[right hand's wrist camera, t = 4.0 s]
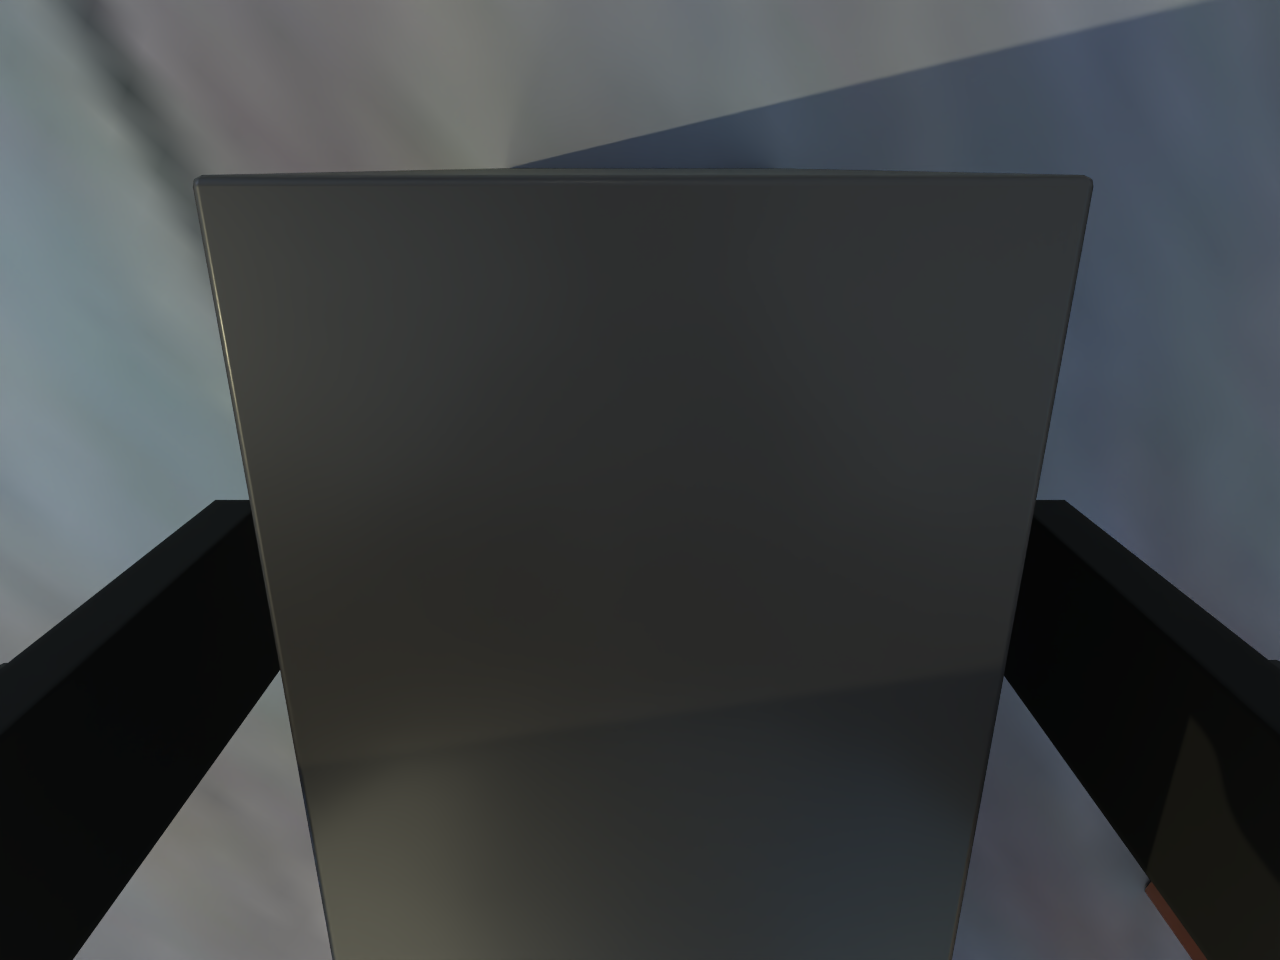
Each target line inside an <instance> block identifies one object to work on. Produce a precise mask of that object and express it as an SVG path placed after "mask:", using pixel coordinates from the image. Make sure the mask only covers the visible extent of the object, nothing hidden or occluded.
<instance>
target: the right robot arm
mask: <svg viewBox="0 0 1280 960" xmlns="http://www.w3.org/2000/svg"><path fill="white" fill-rule="evenodd" d="M279 671H280V666H279V660H278V654H277V649H276V643H275V638H274V632H273V627H272V621H271V616H270V610H269V605H268V599H267V594H266V588H265V582H264V577H263V571H262V566H261V560H260V555H259V549H258V544H257V538H256V533H255V527H254V522H253V516H252V511H251V505H250V500H215V501H214V502H212V503H211V504H210V505H208V506H207V507H206V508H205V509H203V510H202V511H201V512H200V513H198V514H197V515H196V516H194V517H193V518H192V519H191V520H189V521H188V522H187V523H186V524H184V525H183V526H182V527H180V528H179V529H178V530H177V531H175V532H174V533H173V534H172V535H170V536H169V537H168V538H166V539H165V540H164V541H163V542H161V543H160V544H159V545H158V546H156V547H155V548H154V549H152V550H151V551H150V552H149V553H147V554H146V555H145V556H144V557H142V558H141V559H140V560H138V561H137V562H136V563H135V564H133V565H132V566H131V567H130V568H128V569H127V570H126V571H124V572H123V573H122V574H121V575H119V576H118V577H117V578H116V579H114V580H113V581H112V582H110V583H109V584H108V585H107V586H105V587H104V588H103V589H102V590H100V591H99V592H98V593H96V594H95V595H94V596H93V597H91V598H90V599H89V600H88V601H86V602H85V603H84V604H82V605H81V606H80V607H79V608H77V609H76V610H75V611H74V612H72V613H71V614H70V615H68V616H67V617H66V618H65V619H63V620H62V621H61V622H60V623H58V624H57V625H56V626H54V627H53V628H52V629H51V630H49V631H48V632H47V633H46V634H44V635H43V636H42V637H40V638H39V639H38V640H37V641H35V642H34V643H33V644H32V645H30V646H29V647H28V648H26V649H25V650H24V651H23V652H21V653H20V654H19V655H18V656H16V657H15V658H14V659H12V660H11V661H10V662H9V663H3V664H1V665H0V960H73V959H74V957H75V956H76V954H77V953H78V952H79V950H80V949H81V947H82V946H83V945H84V943H85V942H86V940H87V939H88V938H89V936H90V935H91V933H92V932H93V931H94V929H95V928H96V926H97V925H98V924H99V922H100V921H101V919H102V918H103V917H104V915H105V914H106V912H107V911H108V910H109V908H110V907H111V905H112V904H113V903H114V901H115V900H116V898H117V897H118V896H119V894H120V893H121V891H122V890H123V889H124V887H125V886H126V884H127V883H128V882H129V880H130V879H131V877H132V876H133V875H134V873H135V872H136V870H137V869H138V868H139V866H140V865H141V864H142V862H143V861H144V859H145V858H146V857H147V855H148V854H149V852H150V851H151V850H152V848H153V847H154V845H155V844H156V843H157V841H158V840H159V838H160V837H161V836H162V834H163V833H164V831H165V830H166V829H167V827H168V826H169V824H170V823H171V822H172V820H173V819H174V817H175V816H176V815H177V813H178V812H179V810H180V809H181V808H182V806H183V805H184V803H185V802H186V801H187V799H188V798H189V796H190V795H191V794H192V792H193V791H194V789H195V788H196V787H197V785H198V784H199V782H200V781H201V780H202V778H203V777H204V775H205V774H206V773H207V771H208V770H209V768H210V767H211V766H212V764H213V763H214V761H215V760H216V759H217V757H218V756H219V754H220V753H221V752H222V750H223V749H224V747H225V746H226V745H227V743H228V742H229V740H230V739H231V738H232V736H233V735H234V733H235V732H236V731H237V729H238V728H239V726H240V725H241V724H242V722H243V721H244V719H245V718H246V717H247V715H248V714H249V713H250V711H251V710H252V708H253V707H254V706H255V704H256V703H257V701H258V700H259V699H260V697H261V696H262V694H263V693H264V692H265V690H266V689H267V687H268V686H269V685H270V683H271V682H272V680H273V679H274V678H275V676H276V675H277V673H278V672H279ZM1004 676H1005V678H1006V679H1007V680H1008V682H1009V683H1010V685H1011V686H1012V687H1013V689H1014V690H1015V692H1016V693H1017V694H1018V696H1019V697H1020V699H1021V700H1022V701H1023V703H1024V704H1025V705H1026V707H1027V708H1028V710H1029V711H1030V712H1031V714H1032V715H1033V717H1034V718H1035V719H1036V721H1037V722H1038V724H1039V725H1040V726H1041V728H1042V729H1043V731H1044V732H1045V733H1046V735H1047V736H1048V738H1049V739H1050V740H1051V742H1052V743H1053V745H1054V746H1055V747H1056V749H1057V750H1058V752H1059V753H1060V754H1061V756H1062V757H1063V759H1064V760H1065V761H1066V763H1067V764H1068V766H1069V767H1070V768H1071V770H1072V771H1073V773H1074V774H1075V775H1076V777H1077V778H1078V780H1079V781H1080V782H1081V784H1082V785H1083V787H1084V788H1085V789H1086V791H1087V792H1088V794H1089V795H1090V796H1091V798H1092V799H1093V801H1094V802H1095V803H1096V805H1097V806H1098V808H1099V809H1100V810H1101V812H1102V813H1103V815H1104V816H1105V817H1106V819H1107V820H1108V822H1109V823H1110V824H1111V826H1112V827H1113V829H1114V830H1115V831H1116V833H1117V834H1118V836H1119V837H1120V838H1121V840H1122V841H1123V843H1124V844H1125V845H1126V847H1127V848H1128V849H1129V851H1130V852H1131V854H1132V855H1133V856H1134V858H1135V859H1136V861H1137V862H1138V863H1139V865H1140V866H1141V868H1142V869H1143V870H1144V872H1145V873H1146V875H1147V876H1148V877H1149V879H1150V880H1151V882H1152V883H1153V884H1154V886H1155V887H1156V889H1157V890H1158V891H1159V893H1160V894H1161V896H1162V897H1163V898H1164V900H1165V901H1166V903H1167V904H1168V905H1169V907H1170V908H1171V910H1172V911H1173V912H1174V914H1175V915H1176V917H1177V918H1178V919H1179V921H1180V922H1181V924H1182V925H1183V926H1184V928H1185V929H1186V931H1187V932H1188V933H1189V935H1190V936H1191V938H1192V939H1193V940H1194V942H1195V943H1196V945H1197V946H1198V947H1199V949H1200V950H1201V952H1202V953H1203V954H1204V956H1205V957H1206V959H1207V960H1280V661H1278V660H1268V659H1266V658H1265V657H1264V656H1262V655H1261V654H1260V653H1259V652H1257V651H1256V650H1255V649H1254V648H1252V647H1251V646H1250V645H1248V644H1247V643H1246V642H1245V641H1243V640H1242V639H1241V638H1240V637H1238V636H1237V635H1236V634H1234V633H1233V632H1232V631H1231V630H1229V629H1228V628H1227V627H1226V626H1224V625H1223V624H1222V623H1220V622H1219V621H1218V620H1217V619H1215V618H1214V617H1213V616H1212V615H1210V614H1209V613H1208V612H1206V611H1205V610H1204V609H1203V608H1201V607H1200V606H1199V605H1198V604H1196V603H1195V602H1194V601H1192V600H1191V599H1190V598H1189V597H1187V596H1186V595H1185V594H1184V593H1182V592H1181V591H1180V590H1178V589H1177V588H1176V587H1175V586H1173V585H1172V584H1171V583H1170V582H1168V581H1167V580H1166V579H1164V578H1163V577H1162V576H1161V575H1159V574H1158V573H1157V572H1156V571H1154V570H1153V569H1152V568H1150V567H1149V566H1148V565H1147V564H1145V563H1144V562H1143V561H1142V560H1140V559H1139V558H1138V557H1136V556H1135V555H1134V554H1133V553H1131V552H1130V551H1129V550H1128V549H1126V548H1125V547H1124V546H1122V545H1121V544H1120V543H1119V542H1117V541H1116V540H1115V539H1114V538H1112V537H1111V536H1110V535H1108V534H1107V533H1106V532H1105V531H1103V530H1102V529H1101V528H1100V527H1098V526H1097V525H1096V524H1094V523H1093V522H1092V521H1091V520H1089V519H1088V518H1087V517H1086V516H1084V515H1083V514H1082V513H1080V512H1079V511H1078V510H1077V509H1075V508H1074V507H1073V506H1072V505H1070V504H1069V503H1068V502H1066V501H1065V500H1036V502H1035V508H1034V513H1033V518H1032V524H1031V529H1030V535H1029V540H1028V546H1027V551H1026V557H1025V562H1024V568H1023V573H1022V579H1021V584H1020V589H1019V595H1018V600H1017V606H1016V611H1015V617H1014V622H1013V628H1012V633H1011V639H1010V644H1009V649H1008V655H1007V660H1006V666H1005V671H1004Z"/></svg>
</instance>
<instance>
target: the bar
mask: <svg viewBox="0 0 1280 960" xmlns="http://www.w3.org/2000/svg"><path fill="white" fill-rule="evenodd" d="M193 189H194V195H195V201H196V206H197V212H198V217H199V223H200V228H201V234H202V239H203V245H204V250H205V256H206V261H207V267H208V273H209V278H210V284H211V289H212V295H213V300H214V306H215V311H216V317H217V322H218V328H219V333H220V339H221V344H222V350H223V356H224V361H225V367H226V372H227V378H228V383H229V389H230V394H231V400H232V405H233V411H234V416H235V422H236V428H237V433H238V439H239V444H240V450H241V455H242V461H243V466H244V472H245V477H246V483H247V488H248V494H249V499H250V505H251V511H252V516H253V522H254V527H255V533H256V538H257V544H258V549H259V555H260V560H261V566H262V571H263V577H264V582H265V588H266V594H267V599H268V605H269V610H270V616H271V621H272V627H273V632H274V638H275V643H276V649H277V654H278V660H279V666H280V671H281V677H282V682H283V688H284V693H285V699H286V704H287V710H288V715H289V721H290V726H291V732H292V737H293V743H294V749H295V754H296V760H297V765H298V771H299V776H300V782H301V787H302V793H303V798H304V804H305V809H306V815H307V821H308V826H309V832H310V837H311V843H312V848H313V854H314V859H315V865H316V870H317V876H318V881H319V887H320V892H321V898H322V904H323V909H324V915H325V920H326V926H327V931H328V937H329V942H330V948H331V953H332V959H333V960H952V955H953V950H954V944H955V939H956V933H957V928H958V923H959V917H960V912H961V906H962V901H963V895H964V890H965V884H966V879H967V873H968V868H969V862H970V857H971V852H972V846H973V841H974V835H975V830H976V824H977V819H978V813H979V808H980V802H981V797H982V791H983V786H984V781H985V775H986V770H987V764H988V759H989V753H990V748H991V742H992V737H993V731H994V726H995V720H996V715H997V710H998V704H999V699H1000V693H1001V688H1002V682H1003V677H1004V671H1005V666H1006V660H1007V655H1008V649H1009V644H1010V639H1011V633H1012V628H1013V622H1014V617H1015V611H1016V606H1017V600H1018V595H1019V589H1020V584H1021V579H1022V573H1023V568H1024V562H1025V557H1026V551H1027V546H1028V540H1029V535H1030V529H1031V524H1032V518H1033V513H1034V508H1035V502H1036V497H1037V491H1038V486H1039V480H1040V475H1041V469H1042V464H1043V458H1044V453H1045V447H1046V442H1047V437H1048V431H1049V426H1050V420H1051V415H1052V409H1053V404H1054V398H1055V393H1056V387H1057V382H1058V376H1059V371H1060V366H1061V360H1062V355H1063V349H1064V344H1065V338H1066V333H1067V327H1068V322H1069V316H1070V311H1071V305H1072V300H1073V295H1074V289H1075V284H1076V278H1077V273H1078V267H1079V262H1080V256H1081V251H1082V245H1083V240H1084V234H1085V229H1086V224H1087V218H1088V213H1089V207H1090V202H1091V196H1092V191H1093V181H1092V179H1091V178H1089V177H1087V176H1085V175H1056V174H1010V173H964V172H918V171H872V170H827V169H781V168H502V169H457V170H411V171H366V172H321V173H276V174H231V175H202V176H200V177H197V178H195V179H194V183H193Z"/></svg>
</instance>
